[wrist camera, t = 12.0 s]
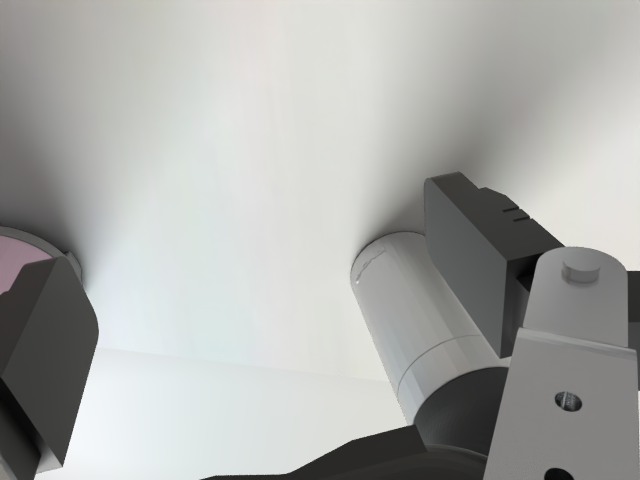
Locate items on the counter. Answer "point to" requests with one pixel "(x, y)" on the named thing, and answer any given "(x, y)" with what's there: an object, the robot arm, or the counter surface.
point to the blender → (25, 254)
